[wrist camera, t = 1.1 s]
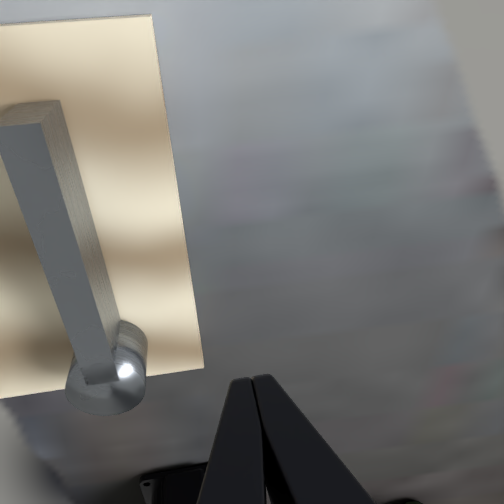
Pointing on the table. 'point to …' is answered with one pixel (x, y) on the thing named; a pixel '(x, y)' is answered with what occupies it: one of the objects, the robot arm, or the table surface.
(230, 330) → the table surface
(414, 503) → the toy figurine
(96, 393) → the grey long bar
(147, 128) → the dial board
